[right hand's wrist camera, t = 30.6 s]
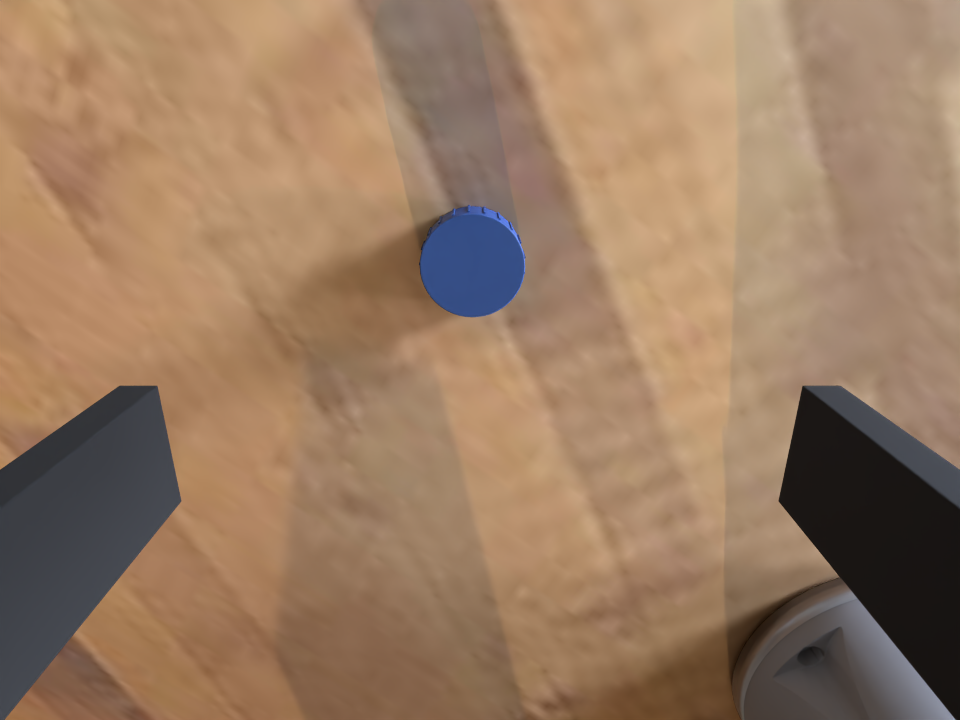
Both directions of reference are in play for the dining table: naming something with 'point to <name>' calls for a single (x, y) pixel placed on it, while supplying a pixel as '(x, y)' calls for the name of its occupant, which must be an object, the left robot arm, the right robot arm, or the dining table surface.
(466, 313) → the cap
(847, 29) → the dining table surface
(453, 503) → the dining table surface
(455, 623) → the dining table surface
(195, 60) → the dining table surface
